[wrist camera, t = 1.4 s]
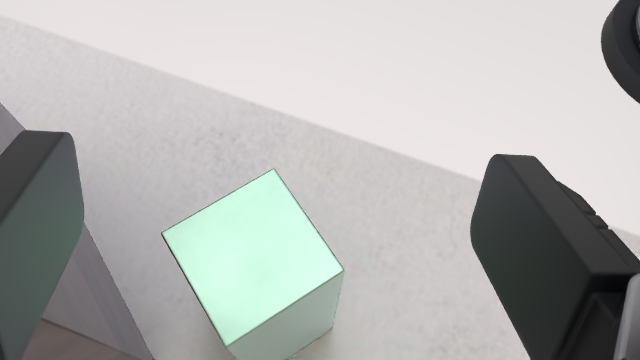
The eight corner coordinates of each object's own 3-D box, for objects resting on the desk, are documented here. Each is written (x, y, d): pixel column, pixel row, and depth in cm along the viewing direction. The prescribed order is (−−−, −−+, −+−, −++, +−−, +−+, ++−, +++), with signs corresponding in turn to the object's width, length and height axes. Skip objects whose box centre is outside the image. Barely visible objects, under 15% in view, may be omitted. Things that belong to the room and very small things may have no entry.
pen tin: (286, 257, 29) (274, 167, 19) (332, 328, 27) (345, 270, 17) (214, 303, 28) (159, 232, 18) (257, 379, 26) (225, 348, 16)
